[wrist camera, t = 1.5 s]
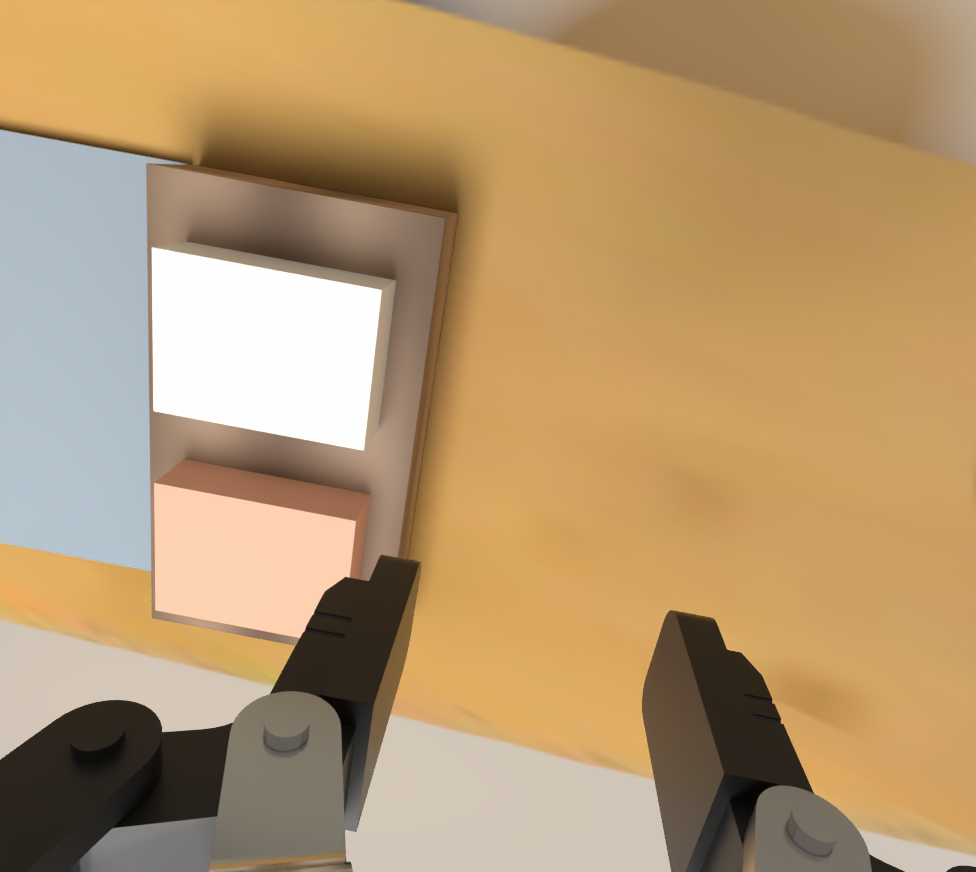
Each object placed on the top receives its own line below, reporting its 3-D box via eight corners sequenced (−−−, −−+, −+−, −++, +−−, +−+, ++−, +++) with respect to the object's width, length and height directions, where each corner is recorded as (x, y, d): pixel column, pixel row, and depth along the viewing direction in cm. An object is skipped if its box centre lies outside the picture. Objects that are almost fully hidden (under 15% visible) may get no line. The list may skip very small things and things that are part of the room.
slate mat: (191, 164, 28) (184, 163, 28) (187, 570, 35) (181, 577, 35) (-66, 116, 28) (-78, 115, 28) (-18, 531, 36) (-27, 537, 35)
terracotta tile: (370, 494, 29) (355, 521, 26) (356, 611, 31) (342, 645, 28) (184, 459, 29) (154, 482, 26) (183, 579, 31) (155, 610, 29)
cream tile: (396, 280, 25) (381, 290, 23) (378, 428, 27) (363, 450, 25) (186, 241, 25) (151, 247, 23) (184, 392, 28) (153, 411, 25)
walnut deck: (458, 213, 28) (445, 218, 24) (399, 611, 35) (382, 662, 32) (198, 165, 28) (146, 163, 25) (193, 571, 35) (151, 617, 32)
